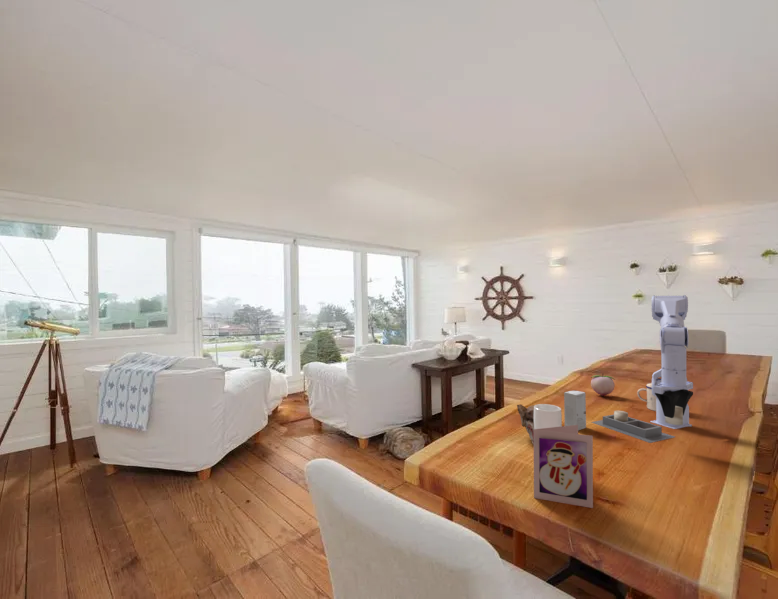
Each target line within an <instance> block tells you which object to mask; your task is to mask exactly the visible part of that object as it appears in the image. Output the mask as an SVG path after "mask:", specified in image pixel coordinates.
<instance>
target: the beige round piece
mask: <svg viewBox="0 0 778 599" xmlns="http://www.w3.org/2000/svg"><path fill="white" fill-rule="evenodd" d="M613 415H614V419H615V420H618V421H621V422H627V421H628V417H629V413H628V412H626V411H624V410H613Z"/></svg>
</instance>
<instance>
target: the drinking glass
mask: <svg viewBox="0 0 778 599" xmlns="http://www.w3.org/2000/svg"><path fill="white" fill-rule="evenodd" d="M562 416H563V414H562V407H561V406H560V407H559V406H558V405H554V404H549V403H538V404H537V403H536V404H535V406H534V429H542V428H551V427H561V426H563V425H562V424H563V423H562V419H563V418H562Z"/></svg>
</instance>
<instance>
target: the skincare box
mask: <svg viewBox="0 0 778 599" xmlns="http://www.w3.org/2000/svg"><path fill="white" fill-rule="evenodd" d="M563 397H564V398H563V400H564V405H563V407H564V408H563V409H564V426H570V425H578V431H580V430H584V429H586V428H587V408H586V406H587V405H586V401H587V400H586V392H584V391H580V390H569V391H565V392H563Z"/></svg>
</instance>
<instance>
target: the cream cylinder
mask: <svg viewBox="0 0 778 599" xmlns="http://www.w3.org/2000/svg"><path fill="white" fill-rule="evenodd" d="M665 422H667V423H669V424H673V425H683V408H682V407H679V406H675V414H674V417H673V418H669V417H666V416H665Z"/></svg>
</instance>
